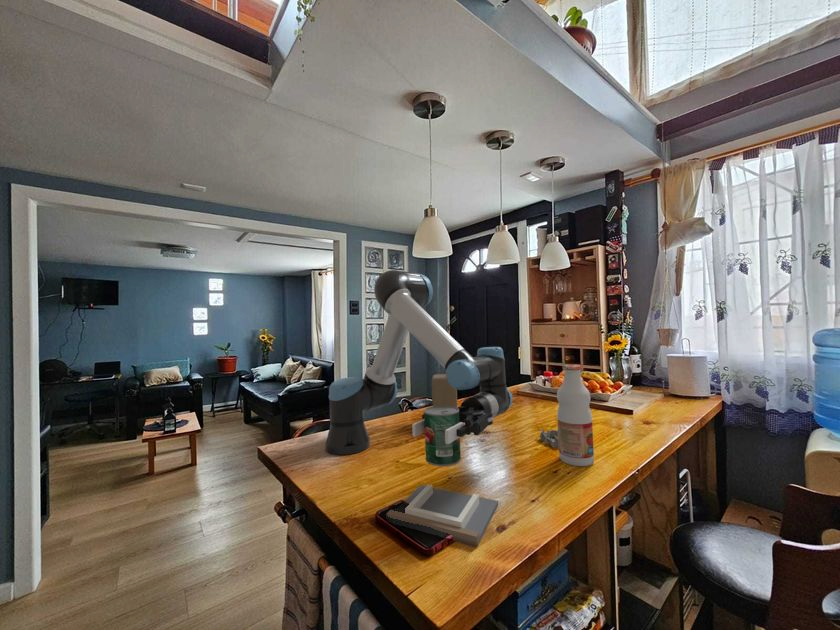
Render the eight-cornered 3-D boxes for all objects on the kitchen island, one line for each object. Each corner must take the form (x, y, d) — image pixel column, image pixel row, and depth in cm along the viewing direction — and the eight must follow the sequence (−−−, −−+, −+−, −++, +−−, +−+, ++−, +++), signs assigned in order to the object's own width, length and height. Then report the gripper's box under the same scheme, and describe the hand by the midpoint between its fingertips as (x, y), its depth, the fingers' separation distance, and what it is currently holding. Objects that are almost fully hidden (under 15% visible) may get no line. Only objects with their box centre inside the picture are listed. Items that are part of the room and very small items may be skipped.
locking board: (386, 522, 73) (386, 508, 73) (420, 488, 88) (420, 477, 88) (477, 547, 64) (476, 531, 64) (498, 505, 79) (497, 492, 79)
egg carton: (537, 439, 121) (536, 427, 121) (557, 437, 122) (556, 425, 122) (553, 450, 110) (552, 437, 110) (575, 447, 111) (574, 435, 112)
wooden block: (458, 420, 146) (456, 373, 146) (458, 427, 136) (456, 377, 137) (434, 420, 147) (432, 374, 147) (433, 427, 137) (431, 377, 138)
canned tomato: (419, 457, 78) (417, 408, 78) (448, 449, 82) (446, 403, 82) (437, 469, 71) (435, 416, 71) (468, 461, 75) (466, 410, 75)
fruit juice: (555, 453, 107) (551, 363, 107) (588, 454, 105) (583, 363, 106) (563, 466, 97) (559, 368, 98) (599, 467, 96) (594, 367, 96)
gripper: (517, 429, 85) (473, 461, 66) (446, 418, 97) (393, 442, 79) (515, 399, 85) (472, 423, 67) (445, 391, 97) (392, 409, 79)
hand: (429, 433), depth 73 cm, fingers closed on canned tomato, 8 cm apart
